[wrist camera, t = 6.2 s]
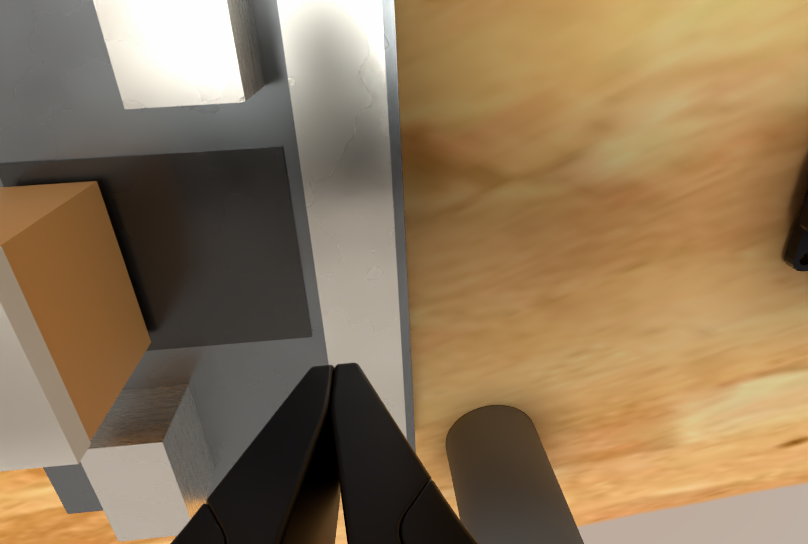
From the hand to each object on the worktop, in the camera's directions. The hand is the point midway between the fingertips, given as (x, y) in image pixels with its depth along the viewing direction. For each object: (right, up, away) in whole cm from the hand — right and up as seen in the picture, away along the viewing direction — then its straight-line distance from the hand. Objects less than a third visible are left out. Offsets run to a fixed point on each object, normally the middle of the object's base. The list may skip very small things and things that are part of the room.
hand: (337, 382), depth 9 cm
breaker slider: (-8, +2, +5) cm, 9 cm away
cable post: (+5, -5, +13) cm, 15 cm away
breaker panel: (-5, +4, +7) cm, 10 cm away
